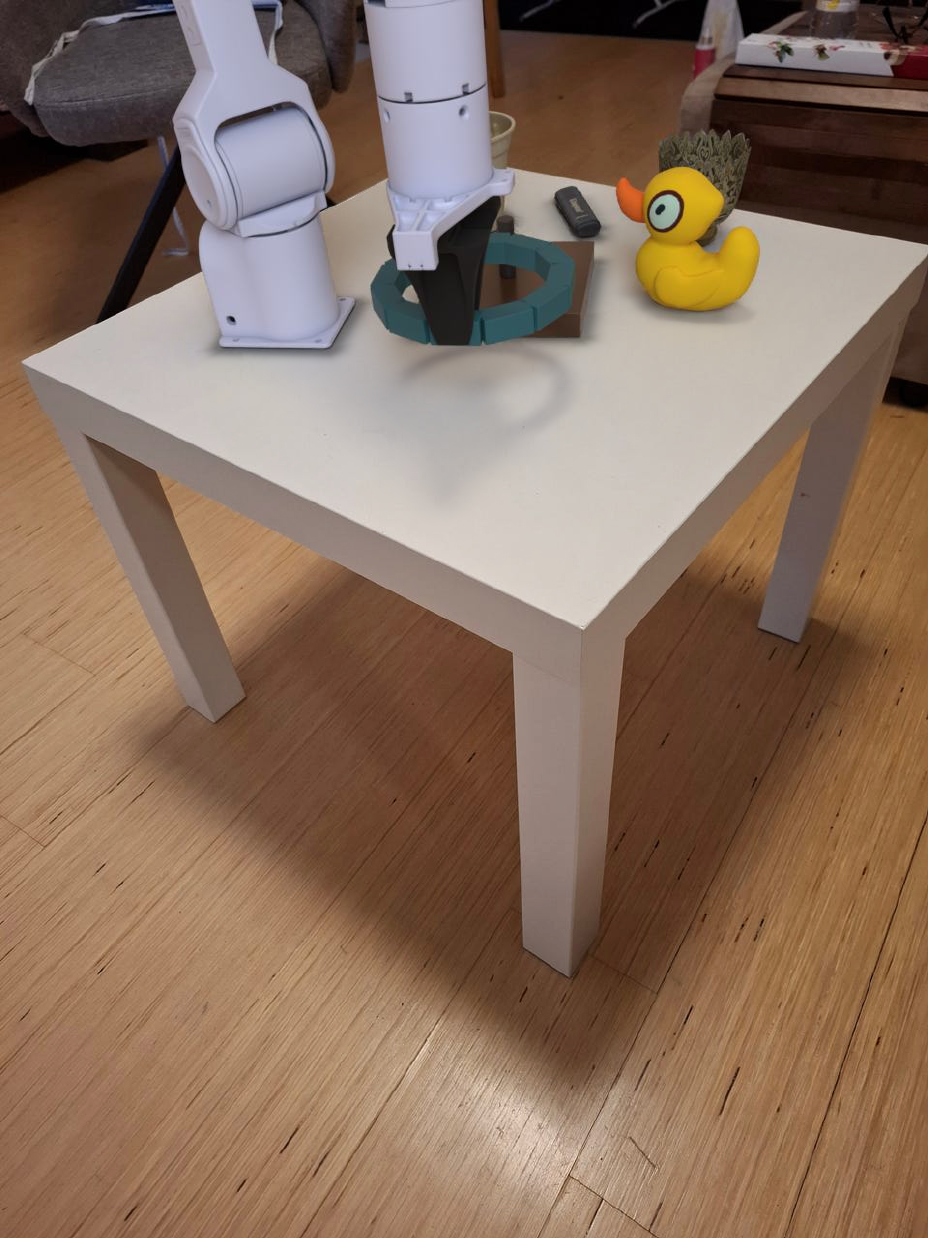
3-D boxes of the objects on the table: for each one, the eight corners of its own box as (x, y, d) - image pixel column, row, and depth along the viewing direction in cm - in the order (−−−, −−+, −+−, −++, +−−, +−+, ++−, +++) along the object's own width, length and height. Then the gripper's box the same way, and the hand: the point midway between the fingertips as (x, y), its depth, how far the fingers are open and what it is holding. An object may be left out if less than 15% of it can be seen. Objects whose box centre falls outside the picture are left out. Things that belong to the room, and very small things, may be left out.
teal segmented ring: (353, 345, 55) (349, 321, 54) (401, 255, 64) (398, 233, 63) (562, 347, 53) (562, 322, 52) (582, 253, 62) (582, 231, 61)
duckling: (598, 306, 70) (601, 175, 63) (626, 278, 73) (632, 150, 66) (736, 333, 66) (756, 194, 59) (760, 301, 69) (782, 166, 62)
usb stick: (552, 202, 86) (552, 186, 85) (579, 199, 86) (579, 182, 85) (574, 241, 80) (574, 223, 78) (602, 236, 80) (603, 219, 79)
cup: (738, 258, 74) (752, 157, 68) (650, 258, 76) (656, 159, 70) (737, 222, 79) (750, 126, 73) (654, 223, 81) (661, 128, 75)
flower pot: (402, 235, 84) (388, 137, 78) (461, 199, 89) (453, 104, 83) (480, 253, 79) (473, 151, 73) (538, 215, 84) (536, 116, 78)
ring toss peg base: (416, 336, 70) (405, 255, 65) (448, 264, 78) (440, 188, 74) (580, 337, 67) (581, 253, 63) (594, 263, 76) (595, 184, 71)
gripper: (485, 131, 39) (502, 398, 49) (528, 43, 49) (535, 280, 58) (334, 136, 40) (380, 395, 50) (406, 50, 50) (432, 280, 60)
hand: (456, 333), depth 54 cm, fingers closed on teal segmented ring, 1 cm apart
